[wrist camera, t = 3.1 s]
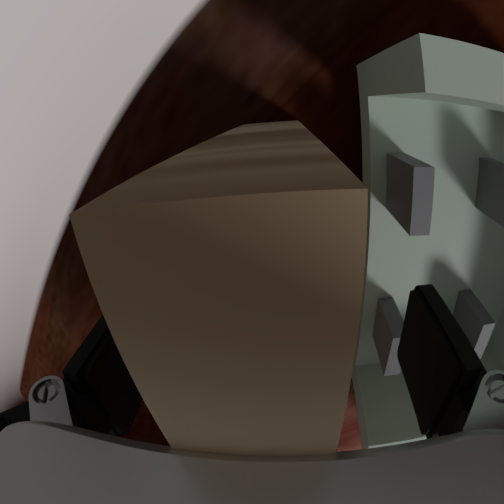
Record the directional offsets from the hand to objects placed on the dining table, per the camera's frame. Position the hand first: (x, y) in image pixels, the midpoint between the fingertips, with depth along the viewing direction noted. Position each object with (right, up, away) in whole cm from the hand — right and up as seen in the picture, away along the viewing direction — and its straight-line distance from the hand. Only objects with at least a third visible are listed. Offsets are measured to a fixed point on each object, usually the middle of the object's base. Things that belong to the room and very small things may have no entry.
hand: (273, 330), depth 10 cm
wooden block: (+1, +3, +5) cm, 6 cm away
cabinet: (+10, +3, +4) cm, 11 cm away
